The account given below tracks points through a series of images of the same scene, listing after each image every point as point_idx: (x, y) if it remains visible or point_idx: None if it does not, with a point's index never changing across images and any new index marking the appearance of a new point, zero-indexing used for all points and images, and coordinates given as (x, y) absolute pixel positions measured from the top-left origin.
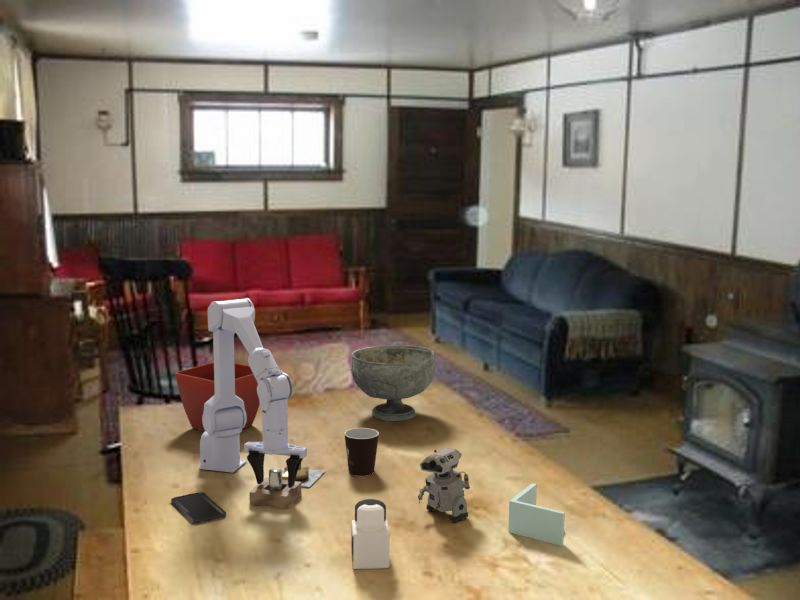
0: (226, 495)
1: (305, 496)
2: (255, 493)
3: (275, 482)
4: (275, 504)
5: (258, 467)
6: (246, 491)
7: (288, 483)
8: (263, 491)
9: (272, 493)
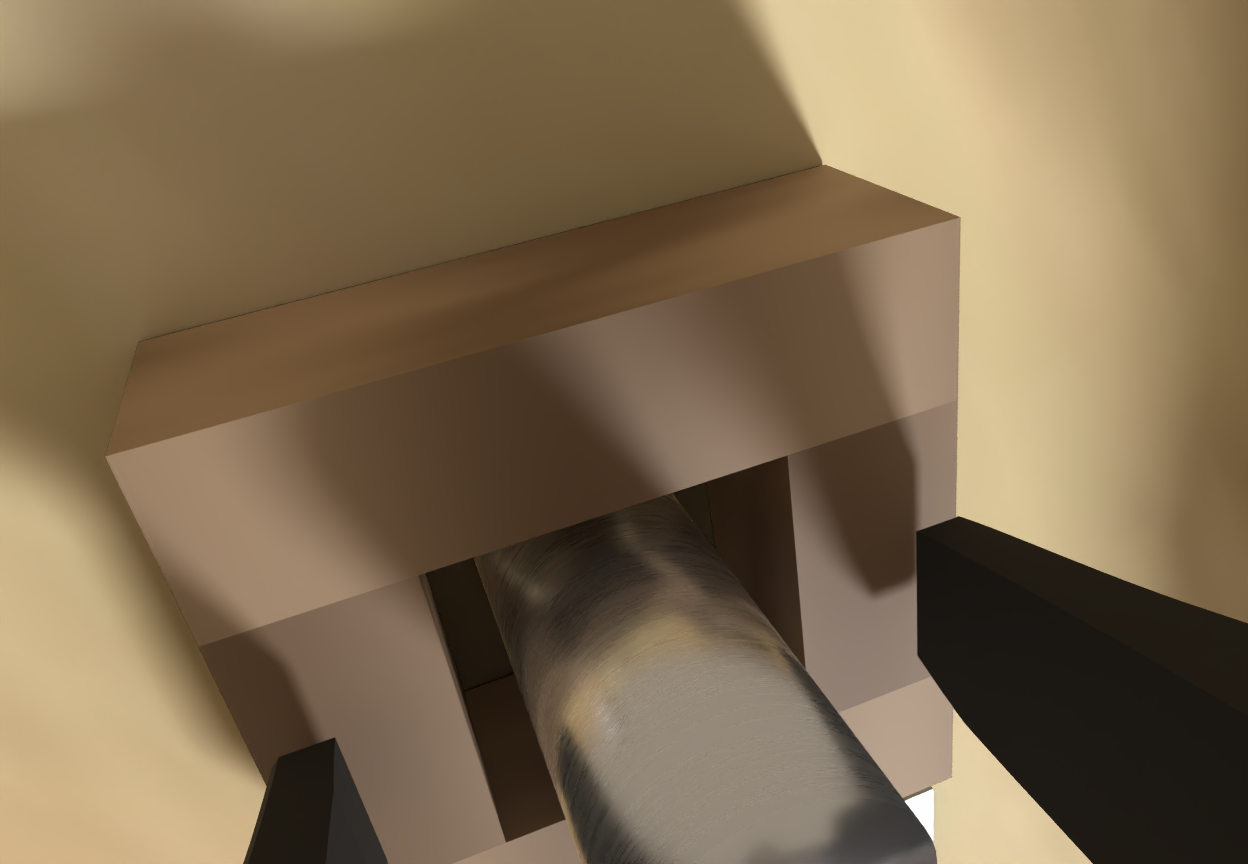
0: (1223, 264)
1: None
2: (833, 245)
3: (623, 673)
4: (373, 300)
5: (1215, 753)
6: (1042, 496)
7: (319, 802)
8: (730, 382)
9: (513, 408)
